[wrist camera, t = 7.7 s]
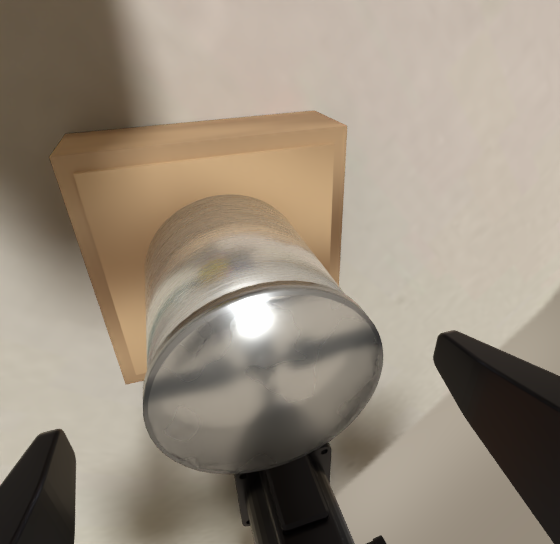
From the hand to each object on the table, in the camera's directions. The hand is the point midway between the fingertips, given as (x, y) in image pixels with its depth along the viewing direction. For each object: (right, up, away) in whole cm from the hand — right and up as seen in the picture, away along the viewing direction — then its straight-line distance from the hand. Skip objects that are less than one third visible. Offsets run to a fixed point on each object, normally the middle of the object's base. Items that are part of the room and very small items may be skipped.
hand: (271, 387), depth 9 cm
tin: (-2, +3, +5) cm, 6 cm away
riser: (-3, +4, +8) cm, 9 cm away
